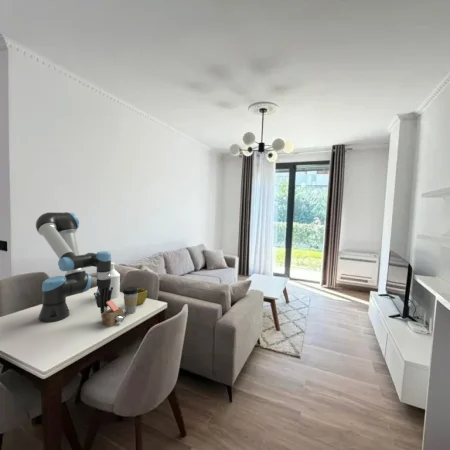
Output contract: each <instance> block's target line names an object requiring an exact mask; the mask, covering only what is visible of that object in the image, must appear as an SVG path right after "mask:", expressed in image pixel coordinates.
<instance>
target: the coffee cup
mask: <svg viewBox="0 0 450 450" xmlns="http://www.w3.org/2000/svg"><path fill="white" fill-rule="evenodd" d="M138 289H139V288H137V287H135V286H130V287H129V286H128V287H125V288H124V289H123V291H122V294H123V300H124V301H123V303H124V307H125V313H126V314H127V315H128V314H129V315H131V314H134V313H136V310H137V305H136V304H137V297H138V296H137V294H138V292H139V291H138Z"/></svg>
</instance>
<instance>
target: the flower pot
mask: <svg viewBox="0 0 450 450" xmlns="http://www.w3.org/2000/svg"><path fill="white" fill-rule="evenodd" d="M137 289H138V291H139V292H138V294H137V296H138V297H137V304H136V306H139V305H143V304H144V303H145V302H146V299H147V295H148V290H147V289H144V288H137Z"/></svg>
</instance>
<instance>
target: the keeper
mask: <svg viewBox="0 0 450 450" xmlns="http://www.w3.org/2000/svg"><path fill="white" fill-rule="evenodd" d="M106 304H107V305H108V306H107V307H109V309H111V310H112V311H113V312H115V311H116V310H118V309H119V308H118V307H119V306H118V305H116V303H115V302H114V301H113V300H112V299H111V300H110V301H108V302H106Z"/></svg>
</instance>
